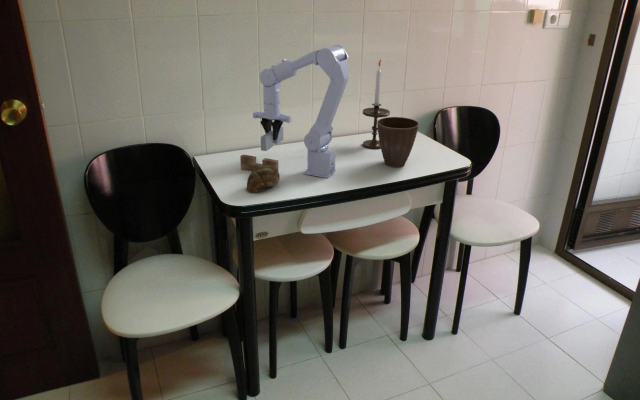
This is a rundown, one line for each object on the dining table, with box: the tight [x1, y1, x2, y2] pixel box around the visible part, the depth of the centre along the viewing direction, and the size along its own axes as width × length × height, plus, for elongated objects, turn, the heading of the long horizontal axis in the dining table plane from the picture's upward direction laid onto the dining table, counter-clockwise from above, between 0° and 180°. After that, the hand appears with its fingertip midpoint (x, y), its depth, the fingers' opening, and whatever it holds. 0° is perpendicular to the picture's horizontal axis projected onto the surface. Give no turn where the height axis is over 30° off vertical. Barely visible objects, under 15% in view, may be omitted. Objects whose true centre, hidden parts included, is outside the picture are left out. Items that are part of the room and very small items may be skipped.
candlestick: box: [362, 59, 391, 150], centre depth 203 cm, size 11×11×35 cm
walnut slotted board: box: [239, 154, 280, 173], centre depth 181 cm, size 14×2×5 cm, turn 68°
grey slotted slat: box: [260, 126, 284, 152], centre depth 187 cm, size 14×2×5 cm, turn 158°
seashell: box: [245, 165, 281, 193], centre depth 167 cm, size 11×9×8 cm
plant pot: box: [377, 116, 420, 168], centre depth 189 cm, size 15×15×16 cm
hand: (272, 139), depth 187 cm, fingers closed on grey slotted slat, 2 cm apart
